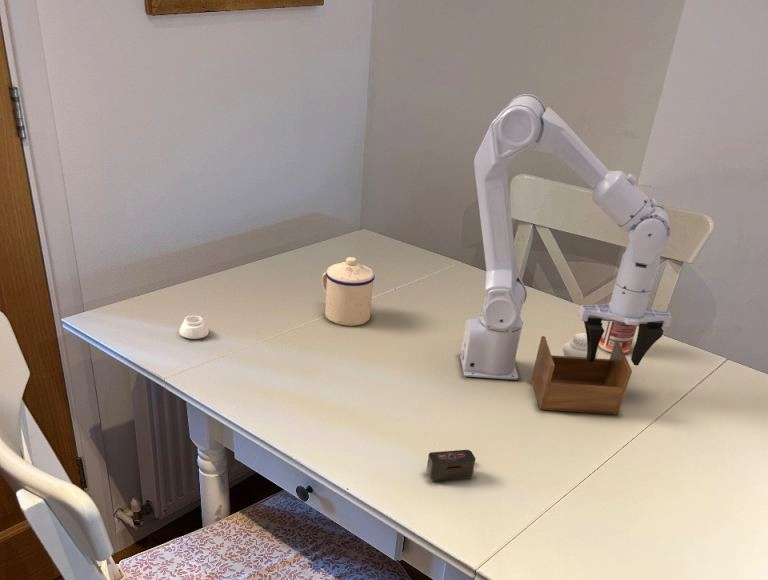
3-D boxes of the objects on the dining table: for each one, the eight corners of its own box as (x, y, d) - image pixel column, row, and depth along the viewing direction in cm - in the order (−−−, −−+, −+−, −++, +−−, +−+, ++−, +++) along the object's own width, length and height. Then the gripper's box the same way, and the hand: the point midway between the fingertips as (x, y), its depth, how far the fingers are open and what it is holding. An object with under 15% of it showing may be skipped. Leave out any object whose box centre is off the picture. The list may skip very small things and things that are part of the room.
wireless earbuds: (478, 478, 111) (482, 460, 109) (430, 483, 109) (433, 464, 107) (467, 459, 114) (471, 441, 112) (421, 463, 112) (423, 445, 111)
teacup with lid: (380, 319, 151) (386, 261, 145) (346, 331, 146) (349, 271, 139) (339, 297, 158) (342, 241, 151) (304, 308, 152) (306, 250, 146)
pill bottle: (636, 351, 149) (653, 295, 143) (614, 357, 146) (630, 301, 140) (612, 337, 153) (627, 283, 147) (590, 343, 150) (604, 288, 144)
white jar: (204, 342, 137) (212, 330, 141) (203, 326, 136) (211, 315, 140) (176, 338, 137) (184, 326, 141) (174, 323, 136) (183, 311, 140)
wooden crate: (617, 414, 129) (632, 371, 123) (539, 409, 128) (551, 365, 122) (605, 383, 136) (618, 341, 130) (531, 378, 135) (541, 335, 129)
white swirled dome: (559, 374, 139) (567, 338, 135) (558, 358, 144) (566, 323, 140) (594, 379, 138) (604, 344, 134) (592, 363, 143) (601, 329, 139)
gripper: (594, 291, 120) (575, 369, 128) (686, 298, 121) (661, 375, 129) (584, 274, 126) (566, 349, 134) (672, 281, 127) (649, 355, 135)
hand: (612, 361), depth 132 cm, fingers open, 7 cm apart
